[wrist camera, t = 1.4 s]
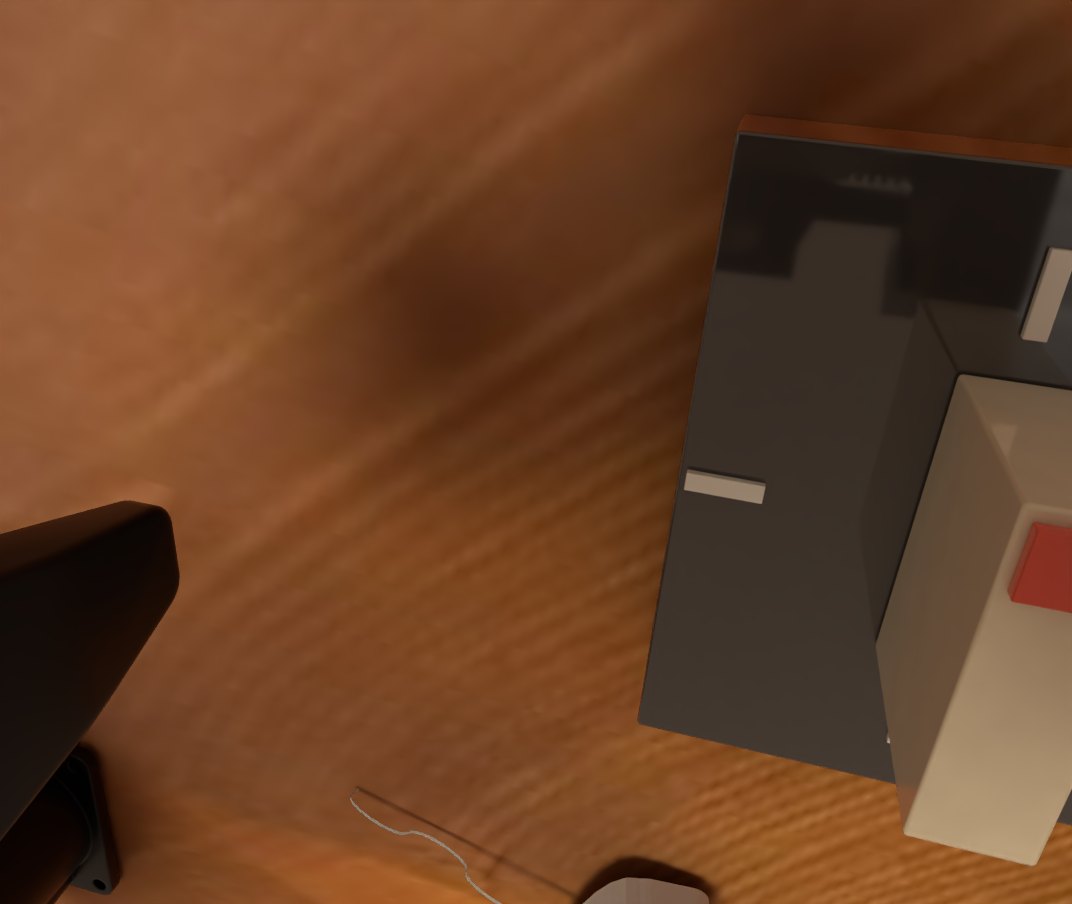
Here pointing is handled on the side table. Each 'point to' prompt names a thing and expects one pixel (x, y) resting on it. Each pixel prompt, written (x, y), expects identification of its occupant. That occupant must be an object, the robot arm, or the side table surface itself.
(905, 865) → the side table surface
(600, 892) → the game controller
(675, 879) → the side table surface
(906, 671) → the knob
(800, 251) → the panel
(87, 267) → the side table surface
